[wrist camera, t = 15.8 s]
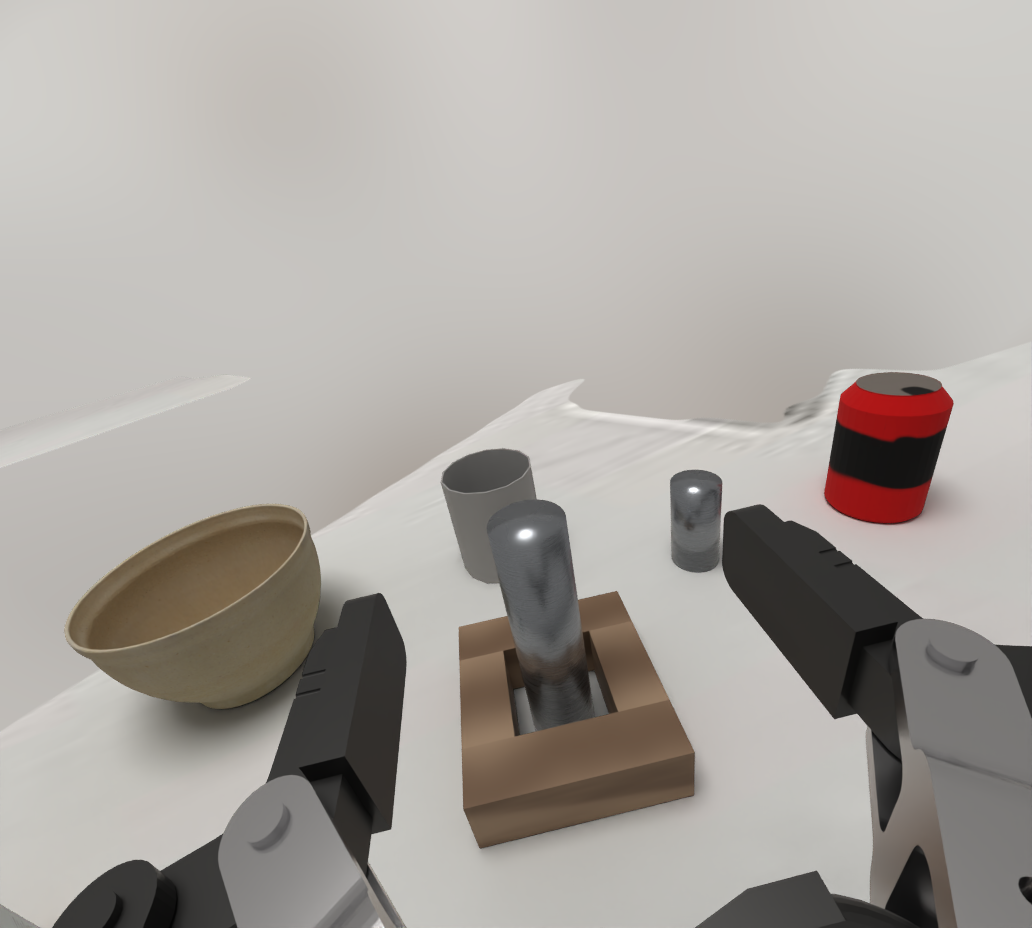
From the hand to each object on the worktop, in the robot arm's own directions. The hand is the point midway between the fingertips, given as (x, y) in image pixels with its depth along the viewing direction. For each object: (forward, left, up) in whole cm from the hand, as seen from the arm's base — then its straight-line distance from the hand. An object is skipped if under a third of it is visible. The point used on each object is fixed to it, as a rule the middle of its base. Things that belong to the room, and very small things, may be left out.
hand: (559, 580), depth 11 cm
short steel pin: (-27, -2, -22) cm, 35 cm away
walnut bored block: (-9, -7, -22) cm, 24 cm away
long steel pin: (-9, -7, -22) cm, 24 cm away
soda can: (-40, +12, -22) cm, 47 cm away
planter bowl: (-3, -33, -22) cm, 40 cm away
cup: (-22, -19, -22) cm, 37 cm away
